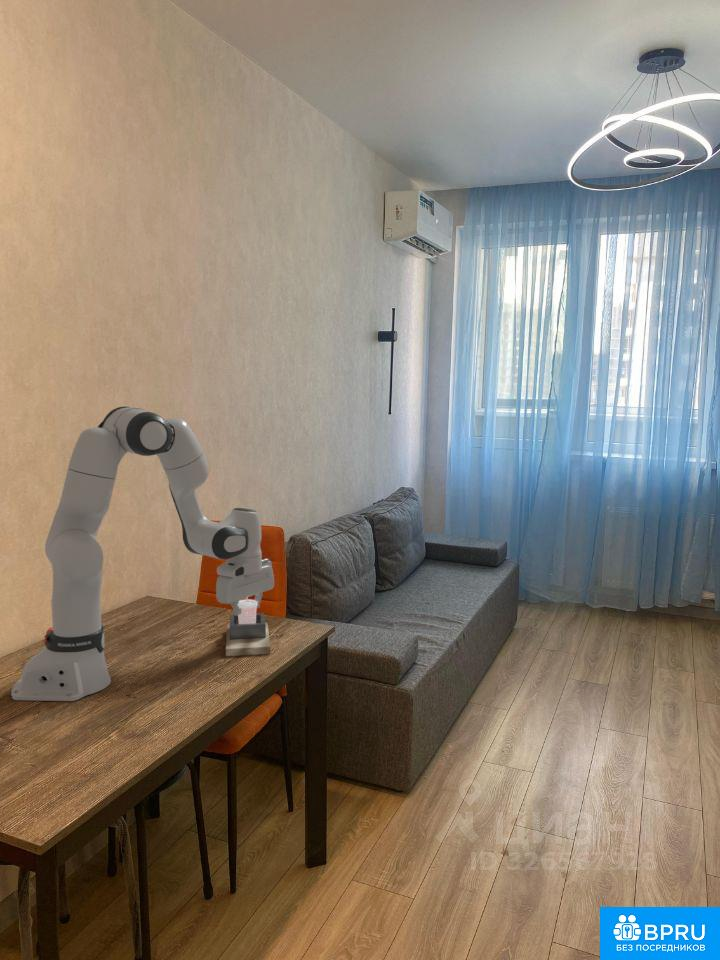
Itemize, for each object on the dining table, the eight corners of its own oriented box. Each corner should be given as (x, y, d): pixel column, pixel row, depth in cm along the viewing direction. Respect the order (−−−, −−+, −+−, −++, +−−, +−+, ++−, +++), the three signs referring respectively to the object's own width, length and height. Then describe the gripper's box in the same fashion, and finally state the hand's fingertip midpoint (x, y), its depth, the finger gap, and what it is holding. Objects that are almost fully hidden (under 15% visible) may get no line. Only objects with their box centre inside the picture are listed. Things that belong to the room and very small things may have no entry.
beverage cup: (244, 627, 219) (243, 581, 218) (262, 631, 217) (261, 584, 215) (232, 634, 214) (231, 586, 212) (250, 637, 211) (249, 589, 209)
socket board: (226, 656, 203) (225, 649, 203) (227, 631, 223) (226, 624, 223) (270, 653, 205) (270, 646, 205) (267, 629, 225) (267, 622, 224)
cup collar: (229, 639, 210) (229, 626, 209) (230, 627, 220) (229, 614, 219) (265, 637, 212) (265, 624, 211) (264, 626, 221) (264, 613, 221)
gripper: (263, 555, 223) (263, 600, 225) (212, 569, 206) (213, 618, 208) (279, 558, 219) (279, 604, 221) (228, 573, 203) (229, 622, 205)
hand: (246, 611), depth 215 cm, fingers closed on beverage cup, 6 cm apart
